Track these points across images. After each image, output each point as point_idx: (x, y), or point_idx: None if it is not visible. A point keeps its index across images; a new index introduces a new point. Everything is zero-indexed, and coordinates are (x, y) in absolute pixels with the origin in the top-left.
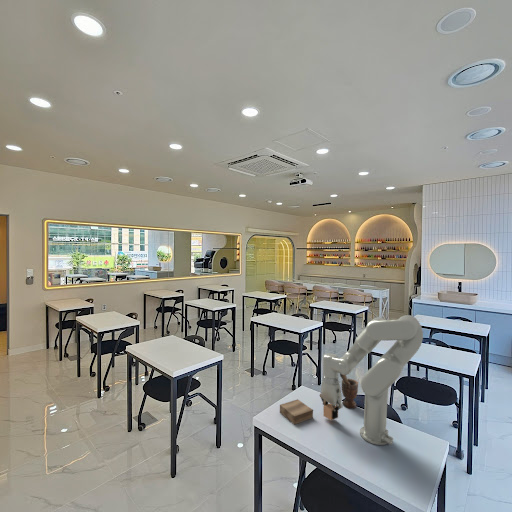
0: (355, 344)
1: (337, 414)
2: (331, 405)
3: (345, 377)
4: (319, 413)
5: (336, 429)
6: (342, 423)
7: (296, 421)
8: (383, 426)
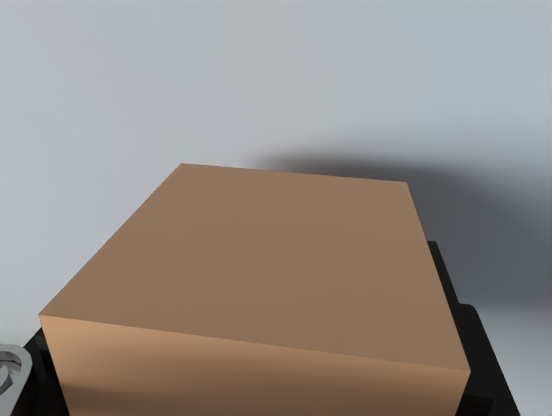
0: None
1: (487, 346)
2: (195, 407)
3: None
4: (55, 222)
5: (502, 328)
6: (489, 123)
7: None
8: None
